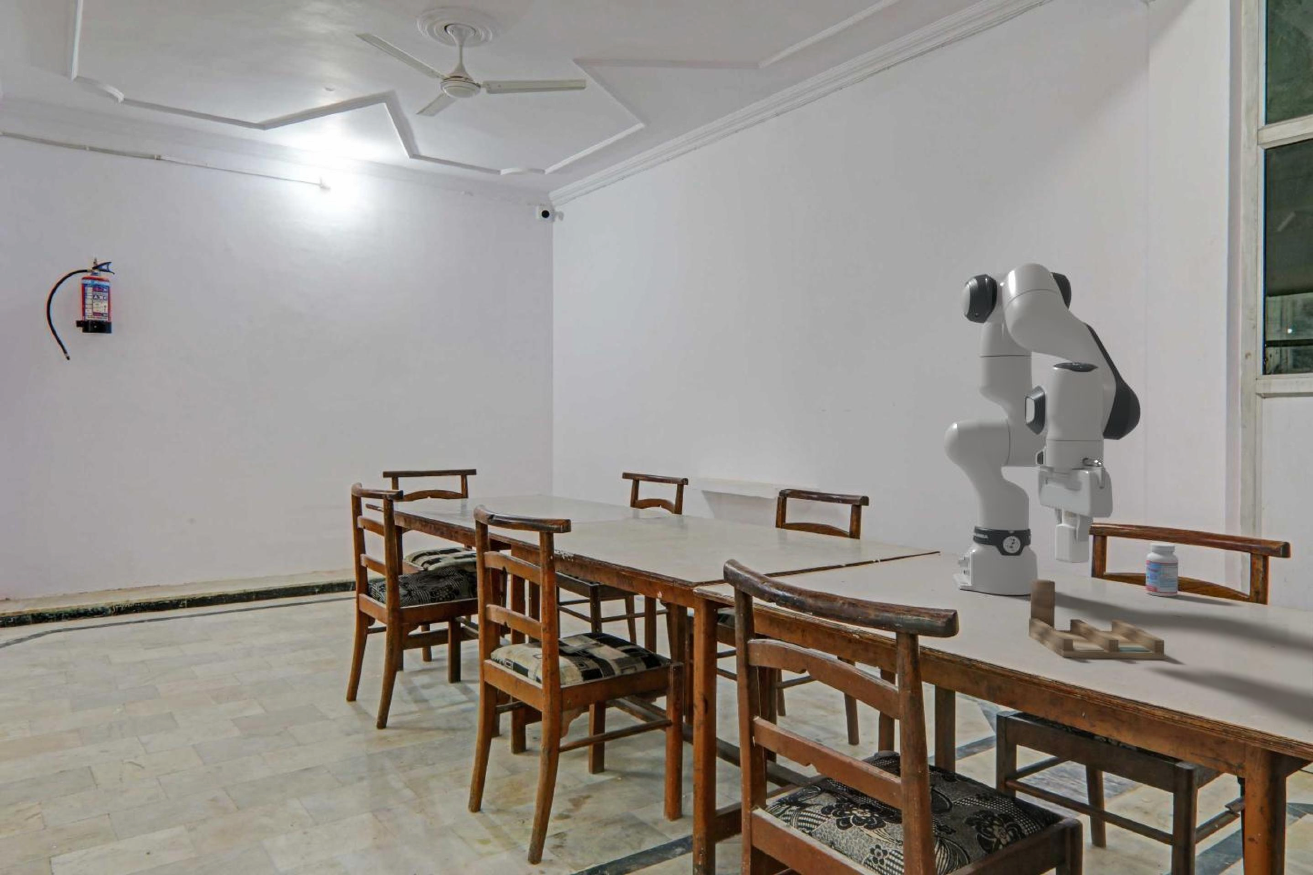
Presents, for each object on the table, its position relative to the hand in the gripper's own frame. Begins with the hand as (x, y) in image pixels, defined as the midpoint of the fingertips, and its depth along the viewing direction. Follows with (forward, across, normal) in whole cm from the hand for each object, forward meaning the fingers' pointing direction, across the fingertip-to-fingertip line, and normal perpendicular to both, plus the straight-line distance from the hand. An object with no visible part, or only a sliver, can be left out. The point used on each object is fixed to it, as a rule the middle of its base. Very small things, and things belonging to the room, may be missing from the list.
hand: (1072, 538), depth 143 cm
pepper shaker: (+4, 0, 0) cm, 4 cm away
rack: (+18, 0, -4) cm, 19 cm away
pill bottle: (+19, +45, -40) cm, 63 cm away
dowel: (+18, +11, 0) cm, 21 cm away
